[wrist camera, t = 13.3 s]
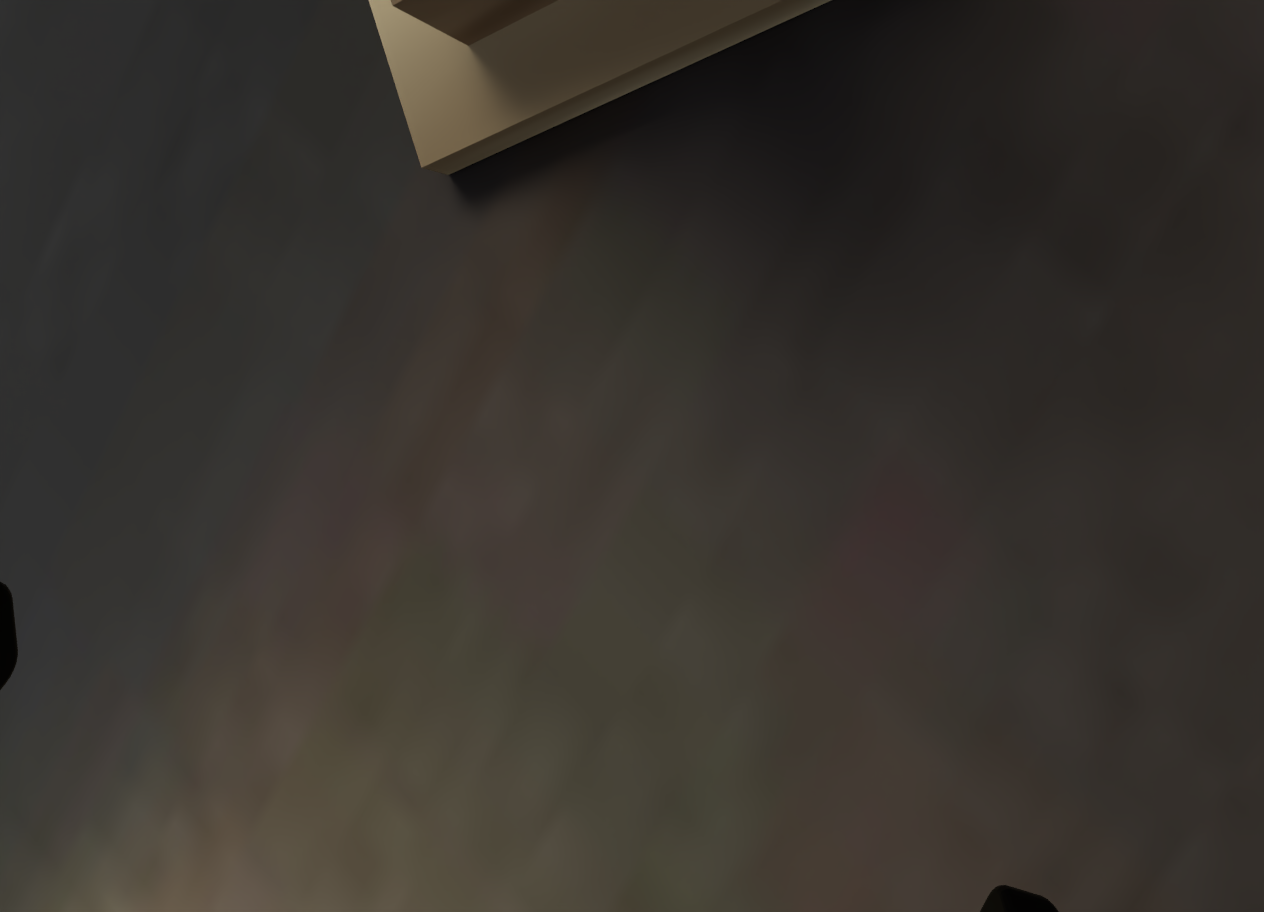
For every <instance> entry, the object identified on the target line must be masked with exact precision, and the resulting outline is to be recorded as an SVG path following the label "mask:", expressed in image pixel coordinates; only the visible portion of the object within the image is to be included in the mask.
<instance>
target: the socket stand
mask: <svg viewBox="0 0 1264 912" xmlns="http://www.w3.org/2000/svg"><path fill="white" fill-rule="evenodd" d="M829 1H831V0H369V3H370V6H371V9H372V12H373V15H374V18H375V22H376V25H377V28H378V31H379V34H380V37H381V41H382V44H383V47H384V50H385V53H386V56H387V60H388V63H389V66H390V69H391V72H392V76H393V79H394V82H395V85H396V88H397V91H398V95H399V98H400V101H401V104H402V107H403V110H404V114H405V117H406V120H407V123H408V126H409V129H410V133H411V136H412V139H413V142H414V145H415V148H416V152H417V155H418V158H419V161H420V164H421V167H422V168H424V169H428V170H432V171H435V172H439V173H443V174H446V175H449V174H452V173H454V172H456V171H458V170H460V169H463V168H465V167H467V166H469V165H471V164H474V163H476V162H478V161H480V160H482V159H484V158H487V157H489V156H491V155H493V154H495V153H498V152H500V151H502V150H504V149H506V148H509V147H511V146H513V145H515V144H517V143H520V142H522V141H524V140H526V139H528V138H531V137H533V136H535V135H537V134H539V133H542V132H544V131H546V130H548V129H550V128H552V127H555V126H557V125H559V124H561V123H563V122H566V121H568V120H570V119H572V118H574V117H577V116H579V115H581V114H583V113H585V112H588V111H590V110H592V109H594V108H596V107H599V106H601V105H603V104H605V103H607V102H610V101H612V100H614V99H616V98H618V97H621V96H623V95H625V94H627V93H629V92H631V91H634V90H636V89H638V88H640V87H642V86H645V85H647V84H649V83H651V82H653V81H656V80H658V79H660V78H662V77H664V76H667V75H669V74H671V73H673V72H675V71H678V70H680V69H682V68H684V67H686V66H689V65H691V64H693V63H695V62H697V61H699V60H702V59H704V58H706V57H708V56H710V55H713V54H715V53H717V52H719V51H721V50H724V49H726V48H728V47H730V46H732V45H735V44H737V43H739V42H741V41H743V40H746V39H748V38H750V37H752V36H754V35H757V34H759V33H761V32H763V31H765V30H767V29H770V28H772V27H774V26H776V25H778V24H781V23H783V22H785V21H787V20H789V19H792V18H794V17H796V16H798V15H800V14H803V13H805V12H807V11H809V10H811V9H814V8H816V7H818V6H820V5H822V4H825V3H827V2H829Z"/></svg>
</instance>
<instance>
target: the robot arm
mask: <svg viewBox="0 0 1264 912" xmlns="http://www.w3.org/2000/svg"><path fill="white" fill-rule="evenodd" d="M17 657H18V647H17V638H16V628H15V618H14V609H13V599H12V594H11V592H10V590H9V589H8V587H7V586H6V585H5V584H3V583H2V582H0V690H1V689H2V687H3V686H4V685H5V684H6V682H7V681H8V679H9V678H10V676H11V674H12V672H13V670H14V668H15V665H16V662H17ZM980 912H1058V910H1057V909H1056V908H1055V906H1054V905H1053V904H1052V903H1051V902H1050V901H1049V900H1048V899H1046V898H1044V897H1042V896H1040V895H1037V894H1033V893H1030V892H1027V891H1024V890H1020V889H1017V888H1014V887H1010V886H1007V885H1000V886H997V887H996V888H994V889H993V890H992V891H991V893H990V894H989V896H988V898H987V899H986V901H985V903H984V905H983V907H982V909H981V911H980Z"/></svg>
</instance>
